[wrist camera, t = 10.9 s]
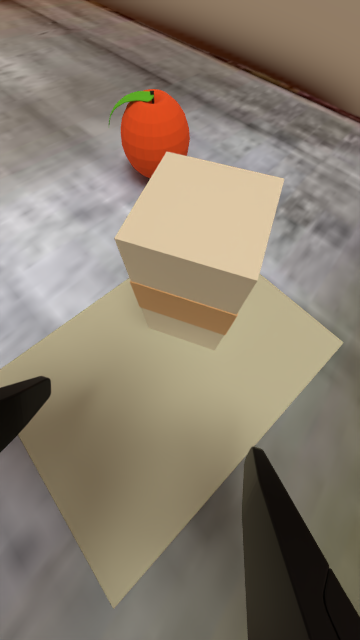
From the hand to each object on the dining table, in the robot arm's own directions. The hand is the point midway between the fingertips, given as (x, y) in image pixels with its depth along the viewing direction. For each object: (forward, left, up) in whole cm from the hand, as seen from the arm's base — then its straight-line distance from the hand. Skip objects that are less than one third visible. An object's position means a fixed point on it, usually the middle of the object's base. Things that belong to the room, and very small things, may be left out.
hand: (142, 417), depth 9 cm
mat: (+3, +2, -7) cm, 8 cm away
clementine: (+16, +20, -7) cm, 27 cm away
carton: (+7, +4, -7) cm, 11 cm away
